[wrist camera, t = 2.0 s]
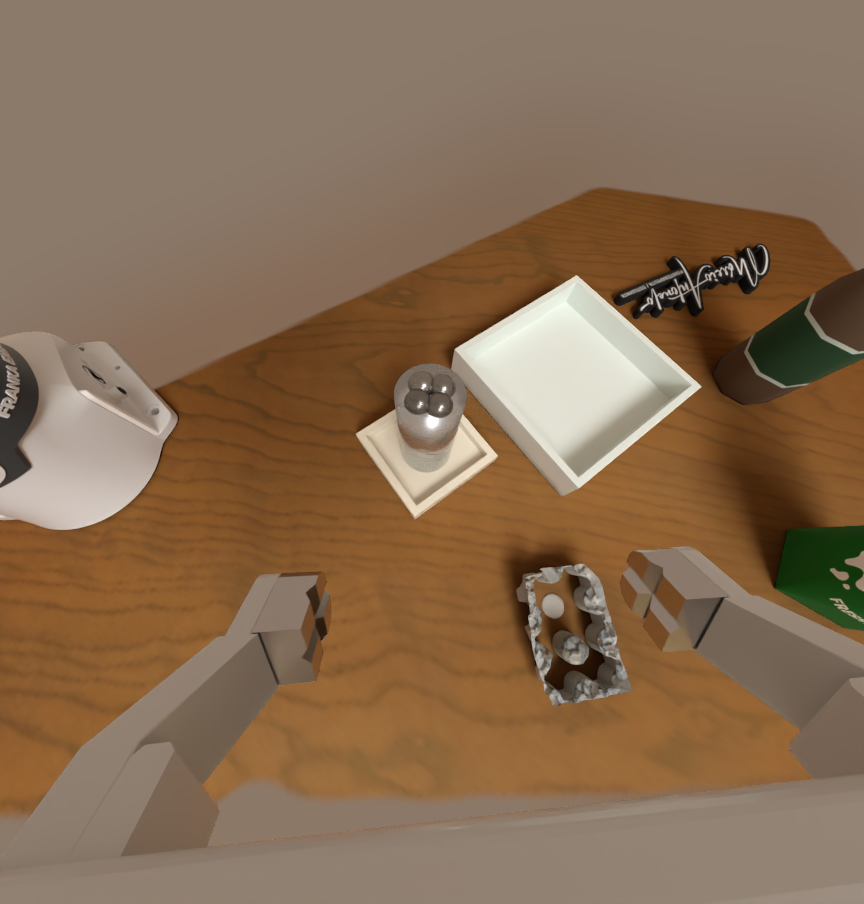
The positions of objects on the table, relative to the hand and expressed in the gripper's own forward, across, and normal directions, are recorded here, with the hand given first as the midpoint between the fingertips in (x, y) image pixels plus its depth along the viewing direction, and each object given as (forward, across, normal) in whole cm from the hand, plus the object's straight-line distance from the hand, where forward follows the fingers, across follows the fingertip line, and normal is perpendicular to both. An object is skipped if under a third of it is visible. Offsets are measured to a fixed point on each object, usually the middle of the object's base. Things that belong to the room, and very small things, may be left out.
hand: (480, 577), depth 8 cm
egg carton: (+14, -12, +22) cm, 29 cm away
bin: (+32, -17, +3) cm, 36 cm away
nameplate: (+44, -41, -8) cm, 61 cm away
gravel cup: (+26, 0, +8) cm, 27 cm away
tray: (+26, 0, +9) cm, 28 cm away
